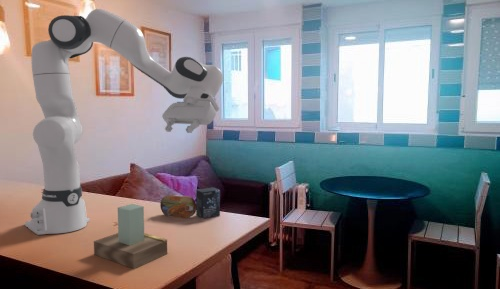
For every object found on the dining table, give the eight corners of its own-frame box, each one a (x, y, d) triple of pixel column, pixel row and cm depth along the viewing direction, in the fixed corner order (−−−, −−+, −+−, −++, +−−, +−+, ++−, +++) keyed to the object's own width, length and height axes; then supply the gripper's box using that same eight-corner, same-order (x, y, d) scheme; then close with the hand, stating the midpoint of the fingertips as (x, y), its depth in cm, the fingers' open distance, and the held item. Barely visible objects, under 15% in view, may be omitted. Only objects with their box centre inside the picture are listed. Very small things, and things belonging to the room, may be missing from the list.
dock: (94, 254, 106) (93, 240, 106) (128, 241, 116) (127, 228, 116) (134, 268, 97) (133, 253, 96) (167, 253, 107) (167, 239, 107)
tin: (160, 215, 145) (159, 194, 144) (164, 213, 148) (164, 192, 147) (193, 219, 139) (193, 198, 139) (197, 217, 142) (197, 196, 142)
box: (202, 219, 140) (202, 191, 139) (195, 215, 145) (195, 189, 144) (220, 216, 144) (220, 189, 143) (213, 212, 149) (213, 186, 148)
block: (118, 241, 105) (117, 207, 104) (132, 236, 109) (131, 203, 108) (130, 245, 102) (129, 210, 101) (144, 240, 107) (143, 206, 106)
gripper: (170, 95, 134) (150, 123, 127) (215, 95, 123) (196, 125, 116) (179, 108, 138) (160, 135, 131) (223, 108, 127) (205, 138, 120)
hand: (177, 131), depth 123 cm, fingers open, 8 cm apart
